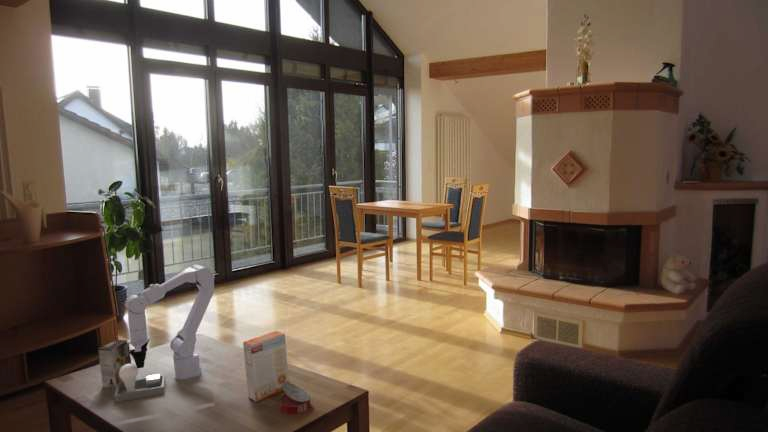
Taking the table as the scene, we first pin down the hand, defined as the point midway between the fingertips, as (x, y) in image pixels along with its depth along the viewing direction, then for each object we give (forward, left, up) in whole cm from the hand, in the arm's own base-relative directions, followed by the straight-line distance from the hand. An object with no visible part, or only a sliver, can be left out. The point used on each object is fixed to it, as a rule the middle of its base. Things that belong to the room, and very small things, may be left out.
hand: (141, 363), depth 192 cm
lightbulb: (+4, +3, -10) cm, 11 cm away
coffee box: (+10, -10, -11) cm, 18 cm away
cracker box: (-42, +22, -11) cm, 49 cm away
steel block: (-4, +2, -9) cm, 10 cm away
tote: (+1, +2, -10) cm, 11 cm away
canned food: (-49, +36, -11) cm, 62 cm away
